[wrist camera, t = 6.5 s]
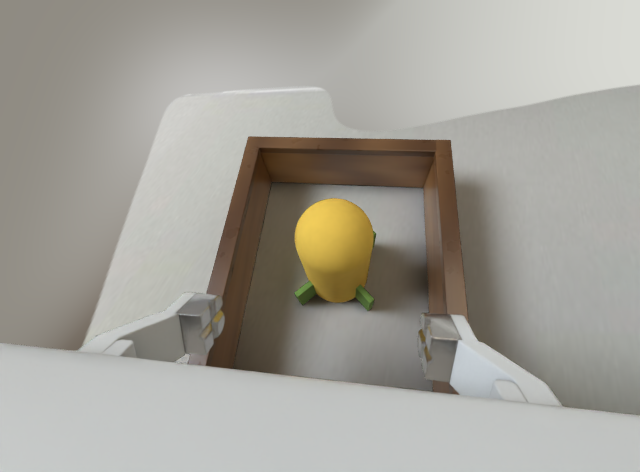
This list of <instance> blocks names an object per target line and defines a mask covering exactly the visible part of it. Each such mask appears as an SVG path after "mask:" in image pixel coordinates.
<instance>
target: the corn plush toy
mask: <svg viewBox="0 0 640 472" xmlns="http://www.w3.org/2000/svg"><path fill="white" fill-rule="evenodd" d="M375 238H376V233H375V232H374V231H373V229H372V225H371V223H370V220H369V218H368V217H367V215H366V214H365V213H364V212H363V210H362V209H360V208H359V207H358V206H357V205H355V204H353V203H352V202H349V201H347V200H343V199H337V198H331V199H325V200H322V201H319V202H317V203H315V204H313V205H312V206H310V207H309V208H308V209H307V210H306V211H305V212H304V213H303V214H302V216H301V217H300V219H299V221H298V224H297V226H296V230H295V245H296V249H297V252H298V255H299V257H300V260H301V262H302V265H303V267H304V270H305V272H306V275H307V277H308V280H309V281H308V282H307V283H306V284H305V285H303V286H302V287H301V288H300V289H298V290H297V291H296V292H295V293H294V294H295V295H296V297H297V299H298V300H299V302H300V303H301V304H302V305H304V304H305V303H306V302H307V301H309V300H310V299H311V298H312V297H313V296H315V295H316V294H317V295H318V296H320V297H321V298H323V299H324V300H327V301H330V302H336V303H340V302H346V301H349V300H351V299H353V298H355V297H356V298H357V300H358V301H359V302H360V303H361V304H362V305H363V306H364V307H365V309H366V310H367V311H369V310H370V309H371V308H372V305H373V302H374V299H373V297H372V296H371V295H370V294H369V293H368V292H367V291H366V290H365V289H364V287H365V284H366V281H367V276H368V271H369V265H370V259H371V253H372V248H373V247H374V243H375Z"/></svg>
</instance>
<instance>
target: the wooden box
mask: <svg viewBox="0 0 640 472" xmlns="http://www.w3.org/2000/svg"><path fill="white" fill-rule="evenodd" d="M271 182H287V183H314V184H341V185H369V186H396V187H423V191H424V212H425V234H426V255H427V276H428V298H429V313H434V314H453V315H463V316H465V318H466V320H467V322H468V324H469V320H468V310H467V300H466V290H465V280H464V270H463V260H462V250H461V240H460V230H459V220H458V210H457V200H456V190H455V180H454V170H453V160H452V150H451V140H409V139H353V138H298V137H248V140H247V144H246V147H245V151H244V155H243V159H242V162H241V166H240V170H239V174H238V177H237V181H236V185H235V189H234V192H233V196H232V200H231V204H230V207H229V211H228V215H227V218H226V222H225V226H224V230H223V233H222V237H221V241H220V245H219V248H218V252H217V256H216V260H215V263H214V267H213V271H212V275H211V278H210V282H209V286H208V290H207V293H206V294H213V295H220V296H221V297H222V300H223V306H222V307H221V308H220V309H221V311H222V312H223V313H224V317H225V322H224V327H223V330H222V332H221V334H220V336H219V337H217V338H215V339H213V340H214V344H213V346H212V347H211V349H210V350H209V352H208V353H207V354H206V355H198V354H190V357H189V361H188V364H193V365H202V366H211V367H219V368H228V369H233V365H234V360H235V355H236V350H237V345H238V341H239V336H240V331H241V326H242V321H243V317H244V312H245V307H246V302H247V297H248V293H249V288H250V283H251V278H252V273H253V269H254V264H255V259H256V254H257V249H258V245H259V240H260V235H261V230H262V225H263V221H264V216H265V211H266V206H267V201H268V197H269V192H270V187H271ZM432 383H433V392H439V393H447V394H456V395H460V394H459V393H458V392H457V391H456V390H455V389H454V388H453V387H452V386H451V385H450V384H449V382H442V381H435V380H432Z"/></svg>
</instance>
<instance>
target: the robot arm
mask: <svg viewBox="0 0 640 472" xmlns="http://www.w3.org/2000/svg"><path fill="white" fill-rule="evenodd" d="M222 306H223V300H222V297H221V296H220V295H213V294H203V293H194V292H185V293H183V294H182V295H181V296H180V297H179V298H178V299H177V300H176V301H175V302H173V303H172V304H171V305H170V306H169V307H168V308H167V309H166V310H165V311H164V312H158V313H155V314H152V315H150V316H147V317H144V318H142V319H139V320H137V321H134V322H131V323H129V324H126V325H123V326H121V327H118V328H115V329H113V330H110V331H107V332H105V333H102V334H99V335H97V336H95V337H94V338H93V339H91V340H90V341H89V342H88V343H86V344H85V345H84V346H82V347H81V348H80V349H79V350H77V351H70V350H61V349H52V348H44V347H35V346H27V345H18V344H9V343H0V472H640V415H631V414H622V413H613V412H604V411H596V410H587V409H578V408H569V407H563V406H562V404H561V403H560V401H559V400H558V399H557V397H556V396H555V394H554V393H553V392H552V390H551V389H550V388H549V386H548V385H547V384H546V383H545V382H543V381H542V380H540V379H539V378H537V377H536V376H534V375H532V374H531V373H529V372H528V371H526V370H525V369H523V368H522V367H520V366H519V365H517V364H515V363H514V362H512V361H511V360H509V359H508V358H506V357H505V356H503V355H502V354H500V353H499V352H497V351H495V350H494V349H492V348H491V347H489V346H488V345H486V344H485V343H483V342H478V340H477V338H476V336H475V334H474V333H473V331H472V329H471V327H470V325H469V324H468V322H467V320H466V318H465V316H463V315H453V314H434V313H422V314H421V318H420V324H421V328H422V329H421V330H420V331H419V332H418V353H419V357H420V358H421V359H422V365H421V366H422V369H423V373H424V377H425V379H427V380H435V381H442V382H449V384H450V385H451V386H452V387H453V388H454V389H455V390H456V391H457V392H458V393H459V394H460V395H456V394H447V393H439V392H430V391H421V390H412V389H404V388H395V387H386V386H377V385H368V384H360V383H351V382H342V381H333V380H324V379H316V378H307V377H298V376H289V375H281V374H272V373H263V372H254V371H246V370H237V369H228V368H219V367H211V366H202V365H193V364H184V363H176V362H175V361H176V360H178V359H179V358H181V357H182V356H184V355H185V354H198V355H206V354H207V353H208V352H209V350H210V349H211V347H212V346H213V344H214V340H213V339H215V338H217V337H219V336H220V334H221V332H222V330H223V327H224V322H225V317H224V313H223V312H222V311H221V309H220V308H221V307H222Z"/></svg>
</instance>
